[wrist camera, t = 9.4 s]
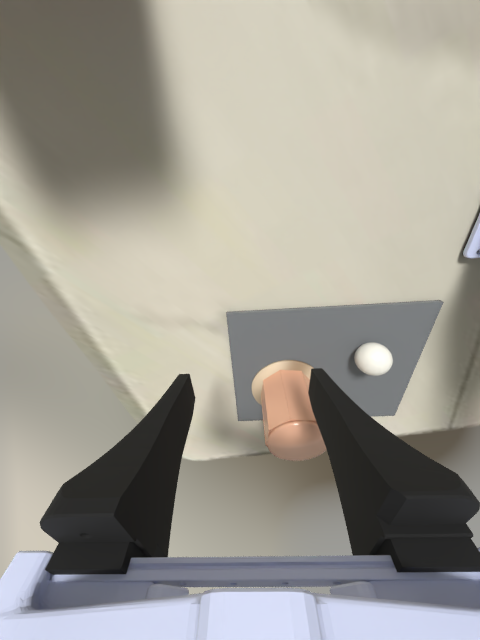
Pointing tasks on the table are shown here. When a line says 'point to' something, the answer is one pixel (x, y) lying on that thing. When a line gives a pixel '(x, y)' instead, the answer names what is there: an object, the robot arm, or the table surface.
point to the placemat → (331, 348)
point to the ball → (373, 359)
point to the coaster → (273, 369)
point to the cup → (290, 417)
